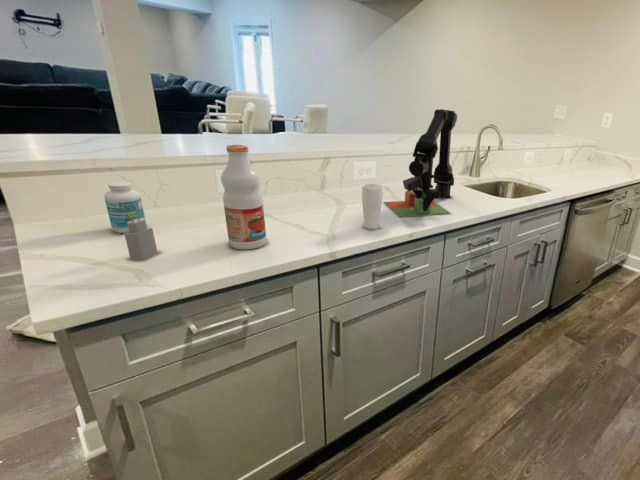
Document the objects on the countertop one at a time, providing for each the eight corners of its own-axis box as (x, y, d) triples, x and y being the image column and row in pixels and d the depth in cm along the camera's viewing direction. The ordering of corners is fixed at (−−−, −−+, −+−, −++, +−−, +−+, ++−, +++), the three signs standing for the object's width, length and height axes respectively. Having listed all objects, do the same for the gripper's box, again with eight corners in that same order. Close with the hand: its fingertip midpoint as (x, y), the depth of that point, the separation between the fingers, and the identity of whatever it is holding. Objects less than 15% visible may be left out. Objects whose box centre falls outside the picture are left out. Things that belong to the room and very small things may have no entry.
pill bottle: (109, 234, 105) (96, 187, 100) (117, 225, 111) (105, 179, 106) (144, 233, 109) (133, 187, 103) (150, 224, 114) (140, 180, 109)
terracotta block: (415, 201, 169) (416, 190, 167) (419, 205, 165) (420, 194, 163) (404, 202, 166) (405, 191, 164) (409, 205, 162) (409, 194, 160)
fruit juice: (235, 236, 114) (223, 141, 104) (270, 238, 117) (262, 145, 106) (223, 249, 106) (209, 147, 95) (261, 250, 108) (251, 151, 98)
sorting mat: (431, 200, 174) (431, 199, 174) (449, 213, 161) (449, 212, 161) (384, 202, 163) (384, 202, 162) (400, 217, 149) (400, 216, 149)
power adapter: (128, 259, 95) (117, 213, 90) (147, 250, 100) (137, 207, 95) (141, 261, 95) (130, 215, 90) (159, 252, 100) (149, 209, 95)
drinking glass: (376, 232, 132) (377, 190, 126) (357, 228, 133) (358, 186, 127) (384, 226, 138) (385, 185, 132) (367, 222, 139) (367, 182, 133)
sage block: (425, 208, 161) (425, 197, 159) (430, 212, 157) (431, 201, 155) (414, 209, 158) (414, 198, 156) (418, 213, 155) (419, 201, 153)
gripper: (396, 165, 154) (395, 202, 160) (415, 177, 140) (413, 217, 146) (422, 166, 160) (419, 201, 166) (442, 177, 146) (439, 216, 152)
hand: (422, 208), depth 157 cm, fingers closed on sage block, 5 cm apart
